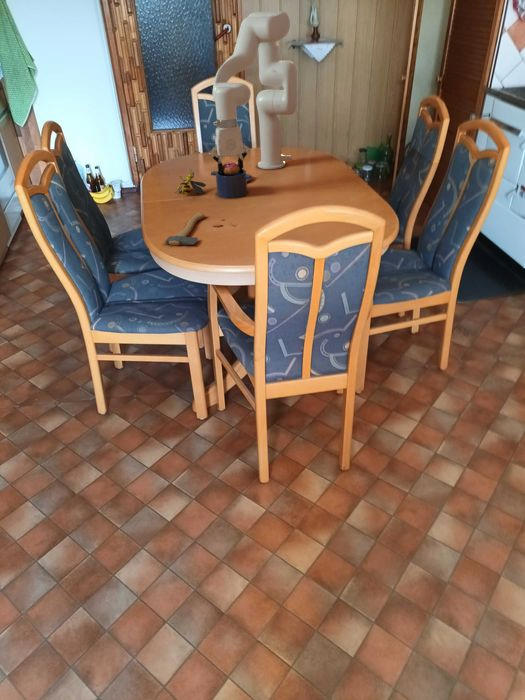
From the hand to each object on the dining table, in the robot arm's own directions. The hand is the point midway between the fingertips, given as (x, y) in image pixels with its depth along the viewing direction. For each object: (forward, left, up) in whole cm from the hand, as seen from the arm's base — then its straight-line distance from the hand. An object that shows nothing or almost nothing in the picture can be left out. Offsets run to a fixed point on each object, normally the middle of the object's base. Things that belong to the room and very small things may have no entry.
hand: (230, 171), depth 208 cm
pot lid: (-7, -16, -8) cm, 19 cm away
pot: (0, 0, -9) cm, 9 cm away
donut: (0, 0, -1) cm, 1 cm away
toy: (+17, -6, -9) cm, 20 cm away
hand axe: (+23, +32, -9) cm, 41 cm away
